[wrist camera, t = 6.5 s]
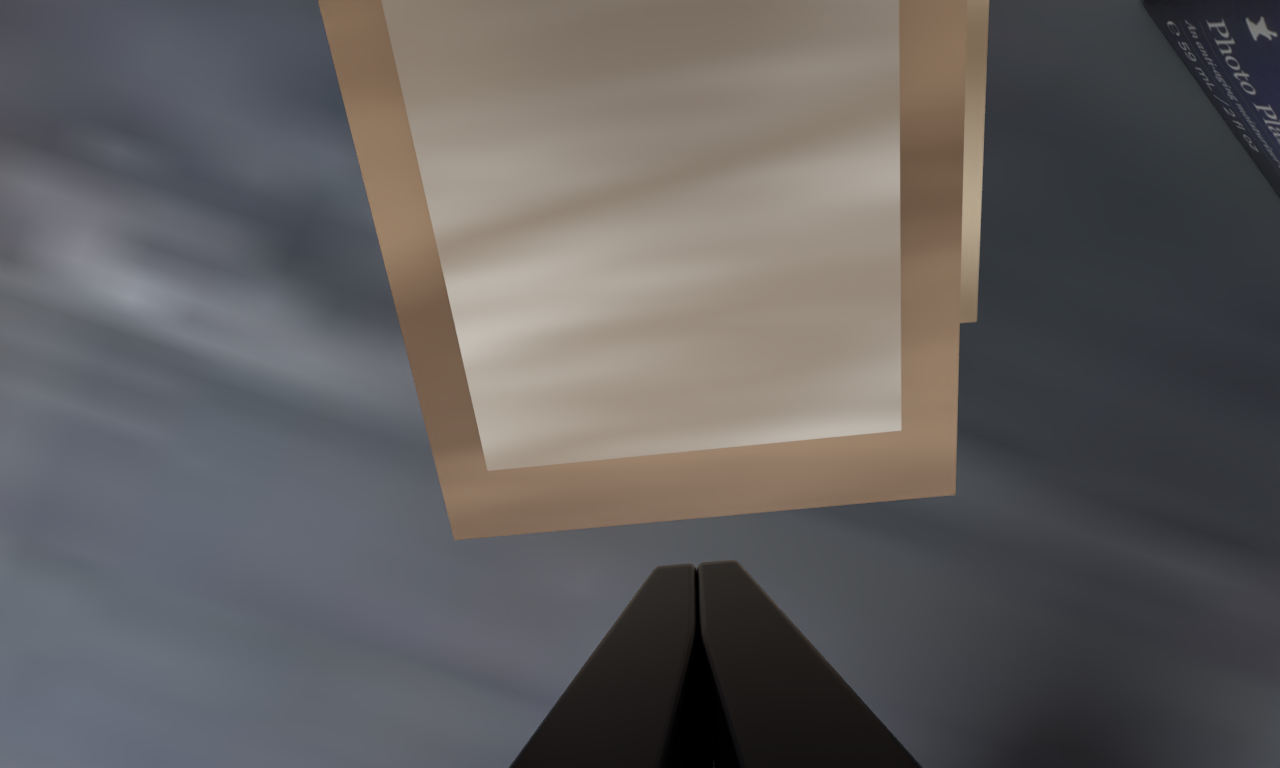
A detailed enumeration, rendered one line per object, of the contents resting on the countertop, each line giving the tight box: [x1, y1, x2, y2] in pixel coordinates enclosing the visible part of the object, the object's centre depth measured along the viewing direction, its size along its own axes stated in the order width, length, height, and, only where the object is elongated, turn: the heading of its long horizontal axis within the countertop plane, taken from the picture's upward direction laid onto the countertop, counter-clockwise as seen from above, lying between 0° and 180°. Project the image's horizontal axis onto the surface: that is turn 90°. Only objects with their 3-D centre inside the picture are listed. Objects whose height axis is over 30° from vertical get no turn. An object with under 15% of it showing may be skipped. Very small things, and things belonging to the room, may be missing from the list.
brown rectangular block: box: [318, 0, 967, 540], centre depth 14 cm, size 5×9×12 cm
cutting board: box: [960, 0, 989, 323], centre depth 16 cm, size 14×13×1 cm
